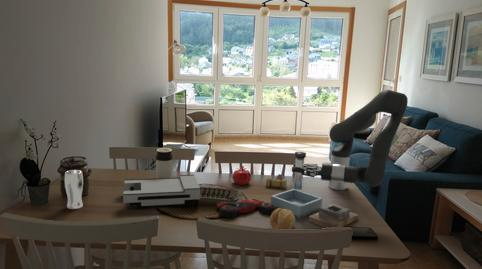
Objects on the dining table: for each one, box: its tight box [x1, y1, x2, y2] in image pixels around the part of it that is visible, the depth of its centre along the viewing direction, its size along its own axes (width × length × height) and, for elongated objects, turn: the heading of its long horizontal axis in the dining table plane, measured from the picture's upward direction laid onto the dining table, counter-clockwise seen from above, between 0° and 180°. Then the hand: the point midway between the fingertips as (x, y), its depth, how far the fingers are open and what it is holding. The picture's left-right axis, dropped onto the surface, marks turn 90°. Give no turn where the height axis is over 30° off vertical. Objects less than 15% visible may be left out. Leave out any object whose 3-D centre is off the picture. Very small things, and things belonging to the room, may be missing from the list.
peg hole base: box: [308, 202, 359, 229], centre depth 161 cm, size 18×12×5 cm, turn 134°
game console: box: [122, 174, 201, 210], centre depth 174 cm, size 21×32×8 cm, turn 105°
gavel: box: [265, 173, 288, 189], centre depth 207 cm, size 21×5×10 cm
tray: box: [270, 188, 323, 219], centre depth 172 cm, size 16×16×5 cm
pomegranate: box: [231, 165, 252, 186], centre depth 201 cm, size 10×10×9 cm
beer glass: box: [64, 169, 84, 210], centre depth 161 cm, size 7×7×15 cm
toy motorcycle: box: [216, 198, 276, 219], centre depth 167 cm, size 25×5×16 cm
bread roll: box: [269, 208, 296, 230], centre depth 149 cm, size 10×15×8 cm, turn 168°
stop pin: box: [293, 151, 307, 191], centre depth 169 cm, size 5×5×16 cm
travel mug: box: [155, 147, 173, 178], centre depth 193 cm, size 8×8×18 cm
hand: (292, 168), depth 169 cm, fingers closed on stop pin, 3 cm apart
